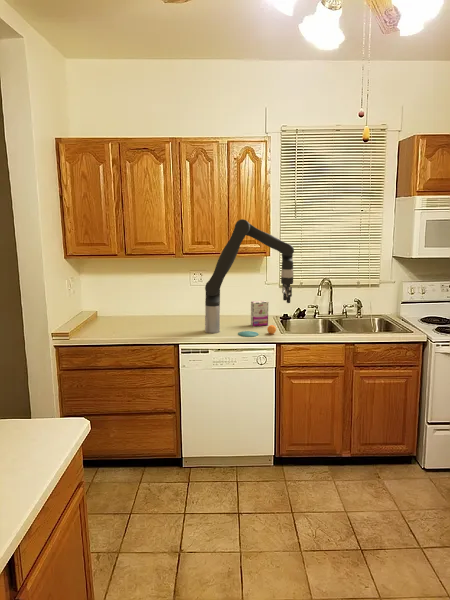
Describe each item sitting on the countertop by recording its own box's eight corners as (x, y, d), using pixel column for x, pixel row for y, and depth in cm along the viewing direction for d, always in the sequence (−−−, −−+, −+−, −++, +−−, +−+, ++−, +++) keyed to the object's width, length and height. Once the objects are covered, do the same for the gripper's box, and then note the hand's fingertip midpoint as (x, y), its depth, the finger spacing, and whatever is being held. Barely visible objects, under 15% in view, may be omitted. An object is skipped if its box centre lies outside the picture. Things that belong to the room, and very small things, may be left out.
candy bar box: (265, 323, 309) (266, 300, 306) (268, 325, 304) (268, 302, 301) (250, 324, 306) (250, 301, 303) (252, 326, 301) (253, 302, 298)
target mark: (239, 337, 276) (239, 336, 275) (236, 331, 288) (236, 331, 288) (260, 336, 277) (260, 336, 277) (256, 331, 290) (256, 330, 290)
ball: (268, 334, 281) (268, 326, 280) (266, 332, 286) (266, 324, 285) (276, 334, 282) (277, 326, 281) (274, 332, 287) (275, 324, 286)
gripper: (278, 274, 286) (278, 299, 289) (284, 278, 272) (283, 304, 275) (290, 274, 287) (289, 299, 290) (296, 277, 273) (295, 303, 276)
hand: (286, 301), depth 283 cm, fingers open, 8 cm apart
